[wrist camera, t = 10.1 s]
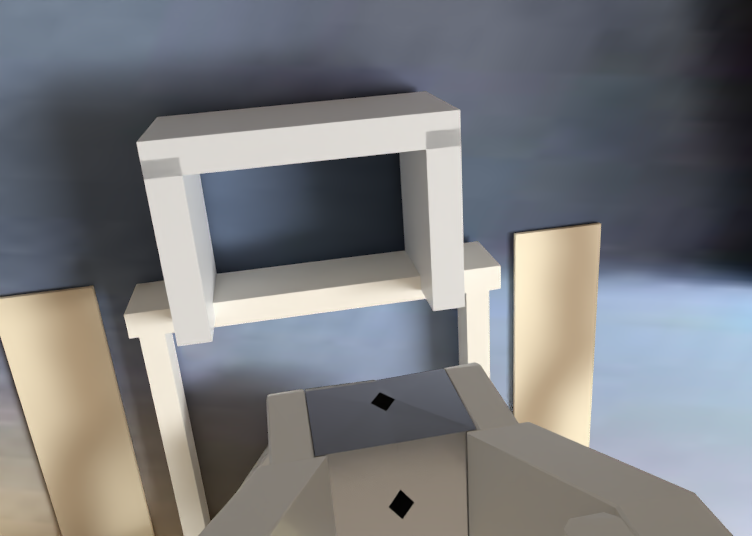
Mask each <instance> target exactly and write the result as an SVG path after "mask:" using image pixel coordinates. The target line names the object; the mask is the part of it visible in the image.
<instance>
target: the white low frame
mask: <svg viewBox="0 0 752 536" xmlns="http://www.w3.org/2000/svg"><path fill="white" fill-rule="evenodd" d="M136 143H137V148H138V153H139V158H140V163H141V168H142V173H143V178H144V183H145V188H146V193H147V197H148V202H149V207H150V212H151V217H152V222H153V227H154V232H155V237H156V242H157V247H158V252H159V257H160V262H161V267H162V272H163V277H164V281H156V282H148V283H140V284H136V286H135V289H134V291H133V294H132V296H131V299H130V301H129V303H128V306H127V308H126V311H125V313H124V318H125V322H126V327H127V331H128V335H129V339H131V338H138V337H139V339H140V343H141V348H142V352H143V356H144V361H145V365H146V370H147V374H148V379H149V383H150V388H151V392H152V397H153V401H154V405H155V410H156V414H157V419H158V423H159V428H160V432H161V437H162V441H163V445H164V450H165V454H166V459H167V463H168V468H169V472H170V477H171V481H172V486H173V490H174V494H175V499H176V503H177V508H178V512H179V517H180V521H181V526H182V530H183V535H184V536H198V535H199V534H200V533H201V532H202V531H203V529H204V528H205V527H206V526H207V525H208V524H209V523H210V522H211V521H210V516H209V511H208V506H207V501H206V497H205V492H204V487H203V482H202V477H201V472H200V467H199V462H198V457H197V452H196V448H195V443H194V438H193V433H192V428H191V423H190V418H189V413H188V408H187V403H186V399H185V394H184V389H183V384H182V379H181V374H180V369H179V364H178V359H177V354H176V349H175V345H174V340H173V335H172V333H175V336H176V341H177V346H184V345H191V344H198V343H205V342H212V340H213V332H214V327H220V326H227V325H235V324H242V323H249V322H257V321H264V320H272V319H279V318H287V317H294V316H301V315H309V314H316V313H324V312H331V311H339V310H346V309H353V308H361V307H368V306H376V305H383V304H391V303H398V302H405V301H413V300H420V299H427V301H428V303H429V305H430V306H431V308H432V310H433V311H439V310H446V309H453V308H458V340H459V365H463V364H468V363H473V362H476V363H478V364H480V365H481V366H482V368H483V369H484V371H485V372H486V374H487V376H488V377H489V379H490V335H489V290H495V289H501V266H500V265H499V263H498V262H497V261H496V260H495V259H494V258H493V257H492V256H491V255H490V254H489V253H488V252H487V251H486V249H485V248H484V247H483V246H482V245H481V244H480V243H479V242H478V241H476V242H468V243H463V207H462V167H461V127H460V109H458V108H456V107H454V106H452V105H450V104H448V103H446V102H445V101H443V100H441V99H439V98H437V97H435V96H433V95H432V94H430V93H428V92H426V91H423V92H412V93H402V94H392V95H381V96H371V97H360V98H350V99H340V100H329V101H319V102H308V103H298V104H287V105H277V106H267V107H256V108H246V109H235V110H225V111H215V112H204V113H194V114H183V115H173V116H162V117H157V118H156V119H155V120H154V121H153V123H152V124H151V125H150V126H149V127H148V129H147V130H146V131H145V132H144V134H143V135H142V136H141V137H140V138H139V140H138V141H137V142H136ZM398 152H399V157H400V174H401V191H402V208H403V225H404V242H405V250H404V251H396V252H388V253H380V254H372V255H364V256H356V257H348V258H340V259H332V260H324V261H316V262H308V263H300V264H292V265H284V266H276V267H268V268H260V269H252V270H244V271H236V272H228V273H220V274H217V272H216V266H215V260H214V254H213V249H212V243H211V237H210V231H209V225H208V219H207V213H206V208H205V202H204V196H203V190H202V184H201V178H200V174H202V173H211V172H220V171H230V170H239V169H248V168H258V167H267V166H277V165H286V164H295V163H305V162H314V161H323V160H333V159H342V158H351V157H361V156H370V155H379V154H389V153H398Z"/></svg>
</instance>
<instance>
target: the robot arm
mask: <svg viewBox="0 0 752 536" xmlns="http://www.w3.org/2000/svg"><path fill="white" fill-rule="evenodd" d="M305 396H306V399H305ZM266 404H267V425H268V445H269V465H267V466H262V467H259V468H258V469H257V470H256V471H255V472H254V473H253V474H252V475H251V476H250V478H249V479H248V480H247V481H246V482H245V483H244V484H243V485H242V487H241V488H240V489H239V490H238V491H237V492H236V493H235V494H234V496H233V497H232V498H231V499H230V500H229V501H228V502H227V504H226V505H225V506H224V507H223V508H222V509H221V510H220V511H219V513H218V514H217V515H216V516H215V517H214V518H213V519H212V520H211V522H210V523H209V524H208V525H207V526H206V527H205V528H204V529H203V531H202V532H201V533H200V534H199V535H198V536H733V535H732V534H731V533H730V532H729V530H728V529H727V528H726V527H725V526H724V525H723V524H722V523H721V522H720V521H719V519H718V518H717V517H716V516H715V515H714V514H713V513H712V512H711V511H710V510H709V508H708V507H707V506H706V505H705V504H704V503H703V502H702V501H701V500H700V498H699V497H698V496H697V495H696V494H695V493H693V492H691V491H689V490H686V489H684V488H682V487H679V486H677V485H675V484H672V483H670V482H668V481H665V480H663V479H661V478H658V477H656V476H654V475H651V474H649V473H647V472H644V471H642V470H640V469H638V468H635V467H633V466H631V465H628V464H626V463H624V462H621V461H619V460H617V459H614V458H612V457H610V456H607V455H605V454H603V453H600V452H598V451H596V450H593V449H591V448H589V447H586V446H584V445H582V444H579V443H577V442H575V441H572V440H570V439H568V438H565V437H563V436H561V435H559V434H556V433H554V432H552V431H549V430H547V429H545V428H542V427H540V426H538V425H535V424H533V423H531V422H525V423H518V421H517V420H516V418H515V417H514V415H513V414H512V412H511V411H510V409H509V408H508V406H507V404H506V403H505V401H504V400H503V398H502V397H501V395H500V394H499V392H498V391H497V389H496V388H495V386H494V385H493V383H492V382H491V380H490V379H489V377H488V376H487V374H486V372H485V371H484V369H483V368H482V366H481V365H480V364H478V363H476V362H473V363H468V364H463V365H458V366H453V367H448V368H442V369H437V370H431V371H425V372H420V373H414V374H409V375H403V376H397V377H392V378H386V379H381V380H369V381H362V382H354V383H347V384H339V385H332V386H324V387H317V388H309V389H305V393H304V391H303V390H302V389H299V390H293V391H287V392H281V393H275V394H269V395H268V396H267V399H266Z"/></svg>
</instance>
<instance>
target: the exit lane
mask: <svg viewBox="0 0 752 536" xmlns="http://www.w3.org/2000/svg"><path fill="white" fill-rule="evenodd" d="M600 236H601V224H600V223H592V224H584V225H576V226H568V227H560V228H552V229H544V230H536V231H528V232H520V233H514V341H513V415H514V417H515V418H516V420H517V421H518V423H525V422H531V423H533V424H535V425H538V426H540V427H542V428H545V429H547V430H549V431H552V432H554V433H556V434H559V435H561V436H563V437H565V438H568V439H570V440H572V441H575V442H577V443H579V444H582V445H584V446H586V447H589V439H590V420H591V402H592V383H593V365H594V347H595V328H596V310H597V291H598V273H599V254H600ZM0 337H1V340H2V343H3V346H4V350H5V353H6V356H7V359H8V362H9V366H10V369H11V372H12V375H13V379H14V382H15V385H16V388H17V392H18V395H19V398H20V401H21V404H22V408H23V411H24V414H25V417H26V421H27V424H28V427H29V430H30V434H31V437H32V440H33V443H34V446H35V450H36V453H37V456H38V459H39V463H40V466H41V469H42V472H43V476H44V479H45V482H46V485H47V488H48V492H49V495H50V498H51V501H52V505H53V508H54V511H55V514H56V518H57V521H58V524H59V527H60V531H61V534H62V536H155V534H154V530H153V526H152V522H151V518H150V514H149V510H148V505H147V501H146V497H145V493H144V489H143V485H142V481H141V477H140V473H139V469H138V465H137V460H136V456H135V452H134V448H133V444H132V440H131V436H130V432H129V428H128V424H127V420H126V416H125V411H124V407H123V403H122V399H121V395H120V391H119V387H118V383H117V379H116V375H115V371H114V367H113V362H112V358H111V354H110V350H109V346H108V342H107V338H106V334H105V330H104V326H103V322H102V317H101V313H100V309H99V305H98V301H97V297H96V293H95V289H94V286H86V287H78V288H70V289H62V290H54V291H46V292H38V293H30V294H22V295H14V296H6V297H0Z"/></svg>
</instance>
